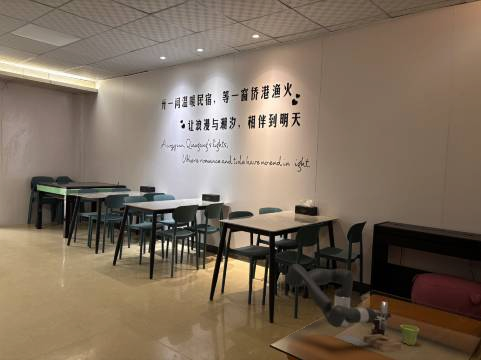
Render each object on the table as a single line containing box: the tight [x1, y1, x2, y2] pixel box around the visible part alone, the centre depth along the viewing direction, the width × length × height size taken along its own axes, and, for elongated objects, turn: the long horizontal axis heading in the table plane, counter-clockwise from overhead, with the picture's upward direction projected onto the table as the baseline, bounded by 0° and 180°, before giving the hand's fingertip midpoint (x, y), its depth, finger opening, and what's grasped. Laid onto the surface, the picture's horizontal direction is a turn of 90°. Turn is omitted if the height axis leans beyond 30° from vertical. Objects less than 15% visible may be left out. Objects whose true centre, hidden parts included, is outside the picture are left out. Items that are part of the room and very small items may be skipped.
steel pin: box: [379, 301, 389, 331], centre depth 199 cm, size 3×3×14 cm
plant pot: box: [400, 324, 420, 346], centre depth 207 cm, size 9×9×9 cm
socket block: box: [363, 334, 402, 352], centre depth 198 cm, size 14×12×4 cm
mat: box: [337, 335, 371, 347], centre depth 202 cm, size 14×10×1 cm
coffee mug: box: [370, 319, 388, 336], centre depth 217 cm, size 12×9×10 cm
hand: (387, 314), depth 200 cm, fingers closed on steel pin, 3 cm apart
